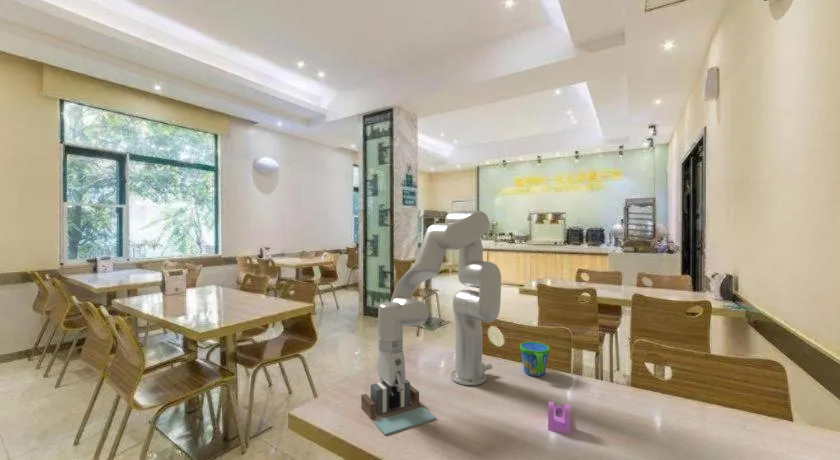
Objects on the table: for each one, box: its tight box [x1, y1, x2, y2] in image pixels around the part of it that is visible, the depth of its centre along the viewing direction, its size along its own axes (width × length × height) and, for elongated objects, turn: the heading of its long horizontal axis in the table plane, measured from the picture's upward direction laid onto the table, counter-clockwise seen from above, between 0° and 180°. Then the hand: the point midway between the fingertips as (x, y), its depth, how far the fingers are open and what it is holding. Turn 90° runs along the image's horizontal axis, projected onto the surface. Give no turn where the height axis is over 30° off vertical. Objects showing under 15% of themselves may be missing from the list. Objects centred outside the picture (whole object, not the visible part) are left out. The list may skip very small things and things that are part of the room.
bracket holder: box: [360, 384, 420, 420], centre depth 111 cm, size 16×7×4 cm, turn 121°
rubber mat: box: [373, 406, 437, 436], centre depth 103 cm, size 16×7×1 cm, turn 121°
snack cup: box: [519, 341, 551, 378], centre depth 136 cm, size 16×10×10 cm
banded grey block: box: [370, 378, 411, 415], centre depth 111 cm, size 11×4×7 cm, turn 121°
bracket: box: [547, 400, 572, 435], centre depth 104 cm, size 13×6×7 cm, turn 159°
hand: (390, 403), depth 111 cm, fingers closed on banded grey block, 4 cm apart
